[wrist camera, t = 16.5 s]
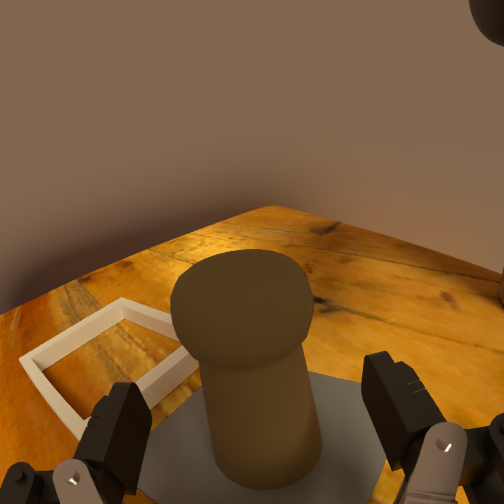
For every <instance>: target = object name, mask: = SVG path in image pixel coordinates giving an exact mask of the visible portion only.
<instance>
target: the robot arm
mask: <svg viewBox="0 0 504 504" xmlns="http://www.w3.org/2000/svg"><path fill="white" fill-rule="evenodd" d="M469 5H470V10H471V13H472V16H473V19H474V21H475V23H476V25H477V27H478V28H479V30H480V31H481V33H482V34H483V35H484V36H485V37H486V38H488V39H489V40H490V41H492V42H493V43H496V44H498V45H501V46H503V47H504V0H469ZM499 297H500V300H501V302H502V304H503V305H504V269H503V274H502V279H501V284H500V289H499ZM361 394H362V399H363V402H364V404H365V407H366V409H367V411H368V414H369V416H370V418H371V421H372V423H373V426H374V428H375V430H376V433H377V435H378V438H379V440H380V442H381V445H382V447H383V450H384V452H385V455H386V457H387V460H388V462H389V465H390V467H391V470H392V472H393V471H395V470H398V469H401V468H402V469H403V471H404V474H405V476H404V478H403V481H402V483H401V486H400V488H399V491H398V493H397V495H396V498H395V500H394V502H393V504H458V502H457V501H455V495H456V491H457V488H458V486H463V488H464V491H465V493H466V496H467V498H468V501H469V503H470V504H504V413H502V414H499V415H498V416H496V417H495V418H494V419H493V420H492V422H491V424H490V425H489V426H485V427H479V428H473V429H463V428H462V427H461V426H459V425H457V424H455V423H452V422H447V421H446V419H445V418H444V416H443V415H442V413H441V412H440V410H439V408H438V407H437V405H436V404H435V402H434V400H433V399H432V397H431V396H430V394H429V393H428V391H427V389H426V390H425V386H424V385H423V383H422V382H421V381H420V379H419V377H418V376H417V374H416V373H415V371H414V370H413V368H411V367H410V366H408V365H407V364H405V363H404V362H402V361H400V362H397V363H394V361H393V360H392V358H391V356H390V355H389V353H388V352H387V351H382V352H378V353H374V354H370V355H366V356H365V358H364V364H363V373H362V381H361ZM151 425H152V416H151V411H150V409H149V407H148V405H147V403H146V401H145V399H144V397H143V395H142V393H141V391H140V389H139V387H138V385H137V384H136V383H134V382H116V383H114V384H113V386H112V389H111V391H110V393H109V396H103V397H102V399H101V400H100V401H99V402H98V403H97V404H96V405H95V407H94V409H93V412H92V414H91V418H89V421H88V423H87V426H86V428H85V430H84V432H83V435H82V437H81V440H80V442H79V444H78V447H77V449H76V452H75V454H74V457H73V459H68V460H65V461H63V462H61V463H60V464H59V465H57V467H56V468H55V470H51V471H35V470H34V469H33V468H32V467H31V466H30V465H29V464H28V463H25V462H18V463H15V464H13V465H12V466H11V467H10V468H9V469H8V471H7V473H6V475H5V478H4V480H3V483H2V485H1V488H0V504H124V502H123V496H124V494H127V495H134V496H135V495H136V490H137V485H138V481H139V476H140V472H141V467H142V463H143V459H144V454H145V450H146V446H147V442H148V438H149V433H150V429H151Z"/></svg>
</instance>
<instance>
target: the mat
mask: <svg viewBox="0 0 504 504" xmlns="http://www.w3.org/2000/svg"><path fill="white" fill-rule="evenodd" d="M308 375H309V379H310V384H311V388H312V393H313V397H314V402H315V407H316V411H317V416H318V421H319V426H320V430H321V436H322V441H323V449H322V453H321V457H320V460H319V461H318V463H317V464H316V466H315V467H314V468H313V470H312V471H311V472H310V473H309V474H308V475H306V476H305V477H304V478H302V479H301V480H300V481H298V482H297V483H294V484H292V485H289V486H286V487H283V488H280V489H273V490H255V489H251V488H246V487H242V486H240V485H238V484H236V483H235V482H233V481H231V480H229V479H228V478H227V477H226V476H225V475H224V474H223V473H222V471H221V470H220V469H219V468H218V466H217V463H216V460H215V456H214V453H213V447H212V442H211V437H210V431H209V425H208V420H207V414H206V408H205V402H204V395H203V389H202V386H201V387H200V388H199V389H198V390H197V391H196V392H195V393H193V394H192V395H191V396H190V397H189V398H188V399H187V400H186V401H185V402H184V403H183V404H182V405H181V406H179V407H178V408H177V409H176V410H175V411H174V412H173V413H172V414H171V415H170V416H169V417H167V418H166V419H165V420H164V421H163V422H162V423H161V424H160V425H158V426H157V427H156V428H155V429H154V430H153V431H152V432H151V433H149V438H148V442H147V446H146V450H145V454H144V459H143V463H142V467H141V472H140V476H139V481H138V485H137V488H138V489H140V490H141V491H142V492H143V493H145V494H146V495H147V496H148V497H150V498H151V499H152V500H154V501H155V502H156V503H158V504H367V503H368V501H369V499H370V497H371V495H372V492H373V490H374V488H375V485H376V483H377V481H378V478H379V476H380V473H381V471H382V468H383V466H384V463H385V460H386V458H387V457H386V455H385V452H384V450H383V447H382V445H381V442H380V440H379V438H378V435H377V433H376V430H375V428H374V426H373V423H372V421H371V418H370V416H369V414H368V411H367V409H366V407H365V404H364V402H363V399H362V394H361V383H358V382H353V381H349V380H344V379H340V378H335V377H331V376H326V375H322V374H318V373H314V372H310V371H308Z"/></svg>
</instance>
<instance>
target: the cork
mask: <svg viewBox="0 0 504 504" xmlns="http://www.w3.org/2000/svg"><path fill="white" fill-rule="evenodd" d="M170 304H171V318H172V324H173V327H174V330H175V333H176V336H177V338H178V339H179V341H180V342H181V344H182V345H183V346H184V348H185V349H186V350H187V351H188V353H189V354H190V355H191V356H192V357H193V358H194V359H196V360H197V361H199V369H200V376H201V382H202V389H203V395H204V402H205V408H206V414H207V420H208V425H209V431H210V437H211V442H212V447H213V453H214V456H215V460H216V463H217V466H218V468H219V469H220V470H221V471H222V473H223V474H224V475H225V476H226V477H227V478H228V479H229V480H231V481H233V482H235V483H236V484H238V485H240V486H242V487H246V488H251V489H255V490H273V489H280V488H283V487H286V486H289V485H292V484H294V483H297V482H298V481H300V480H301V479H302V478H304V477H305V476H306V475H308V474H309V473H310V472H311V471H312V470H313V468H314V467H315V466H316V464H317V463H318V461H319V460H320V457H321V453H322V449H323V441H322V436H321V430H320V426H319V421H318V416H317V411H316V407H315V402H314V397H313V393H312V388H311V384H310V379H309V375H308V370H307V366H306V361H305V357H304V352H303V348H302V344H301V343H302V342H303V341H304V340H305V338H306V337H307V334H308V331H309V327H310V324H311V320H312V316H313V312H314V302H313V294H312V291H311V288H310V285H309V282H308V279H307V276H306V273H305V272H304V271H303V270H302V268H301V267H300V266H299V265H298V263H297V262H295V261H294V260H293V259H291V258H290V257H288V256H285V255H283V254H280V253H277V252H274V251H269V250H261V249H245V250H236V251H230V252H225V253H221V254H217V255H214V256H211V257H208V258H206V259H203V260H201V261H199V262H198V263H196V264H194V265H192V266H191V267H190V268H189V269H188V270H187V271H185V272H184V273H183V274H182V275H181V276H179V278H178V280H177V282H176V284H175V286H174V289H173V292H172V295H171V298H170Z"/></svg>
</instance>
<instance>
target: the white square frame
mask: <svg viewBox="0 0 504 504" xmlns="http://www.w3.org/2000/svg"><path fill="white" fill-rule="evenodd" d="M123 319H126V320H128V321H131V322H133V323H135V324H137V325H140V326H142V327H144V328H147V329H149V330H152V331H154V332H156V333H159V334H161V335H164V336H166V337H169V338H171V339H174V340H176V341H179V339H178V338H177V336H176V333H175V330H174V327H173V324H172V318H171V314H169V313H166V312H163V311H160V310H157V309H154V308H151V307H148V306H145V305H142V304H139V303H136V302H134V301H131V300H128V299H125V298H122V297H121V298H119V299H118V300H116V301H114V302H113V303H111V304H109V305H107V306H106V307H104V308H102V309H101V310H99V311H97V312H95V313H94V314H92V315H90V316H89V317H87V318H85V319H84V320H82V321H80V322H79V323H77V324H75V325H73V326H72V327H70V328H68V329H67V330H65V331H63V332H62V333H60V334H58V335H57V336H55V337H54V338H52V339H50V340H49V341H47V342H45V343H44V344H42V345H40V346H39V347H37V348H35V349H34V350H32V351H31V352H29V353H27V354H26V355H24V356H22V357H21V358H19V361H20V363H21V364H22V366H23V368H24V370H25V371H26V373H27V375H28V376H29V378H30V379H31V381H32V382H33V383H34V385H35V386H36V388H37V389H38V391H39V392H40V393H41V395H42V396H43V398H44V399H45V400H46V402H47V403H48V404H49V406H50V407H51V408H52V410H53V411H54V412H55V413H56V415H57V416H58V417H59V418H60V420H61V421H62V422H63V423H64V425H65V426H66V427H67V428H68V429H69V430H70V432H71V433H72V434H73V435H74V436H75V437H76V438H77V440H78V441H79V442H80V440H81V437H82V435H83V432H84V430H85V428H86V426H87V423H88V421H89V418H91V416H90V417H89V418H87V419H86V420H85V421H84V420H83V419H82V418H81V417H80V416H79V415H78V414H77V413H76V412H75V411H74V410H73V409H72V408H71V406H70V405H69V404H68V403H67V402H66V401H65V400H64V399H63V397H62V396H61V395H60V394H59V393H58V392H57V391H56V389H55V388H54V387H53V386H52V385H51V383H50V382H49V381H48V380H47V378H46V377H45V376H44V375H43V373H42V372H41V371H43V370H44V369H46V368H48V367H49V366H51V365H52V364H54V363H55V362H57V361H58V360H60V359H62V358H63V357H65V356H66V355H68V354H69V353H71V352H72V351H74V350H76V349H77V348H79V347H80V346H82V345H83V344H85V343H87V342H88V341H90V340H91V339H93V338H94V337H96V336H98V335H99V334H101V333H102V332H104V331H105V330H107V329H109V328H110V327H112V326H113V325H115V324H116V323H118V322H120V321H121V320H123ZM179 342H180V341H179ZM198 368H199V361H197V360H196V359H194V358H193V357H192V356H191V355H190V354H189V353H188V351H187V350H186V349H185V348H184V346H183V345H182V346H180V347H179V348H178V349H177V350H175V351H174V352H173V353H172V354H170V355H169V356H168V357H167V358H165V359H164V360H163V361H162V362H160V363H159V364H158V365H156V366H155V367H154V368H153V369H151V370H150V371H149V372H147V373H146V374H145V375H144V376H142V377H141V378H140V379H138V380H137V381H136V382H135V383H136V384H137V385H138V387H139V389H140V391H141V393H142V395H143V397H144V399H145V401H146V403H147V405H148V407H149V409H150V410H151V409H152V408H153V407H154V406H155V405H156V404H158V403H159V402H160V401H161V400H162V399H163V398H165V397H166V396H167V395H168V394H169V393H170V392H172V391H173V390H174V389H175V388H176V387H177V386H178V385H180V384H181V383H182V382H183V381H184V380H185V379H186V378H187V377H189V376H190V375H191V374H192V373H193V372H194V371H195V370H196V369H198Z"/></svg>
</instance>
